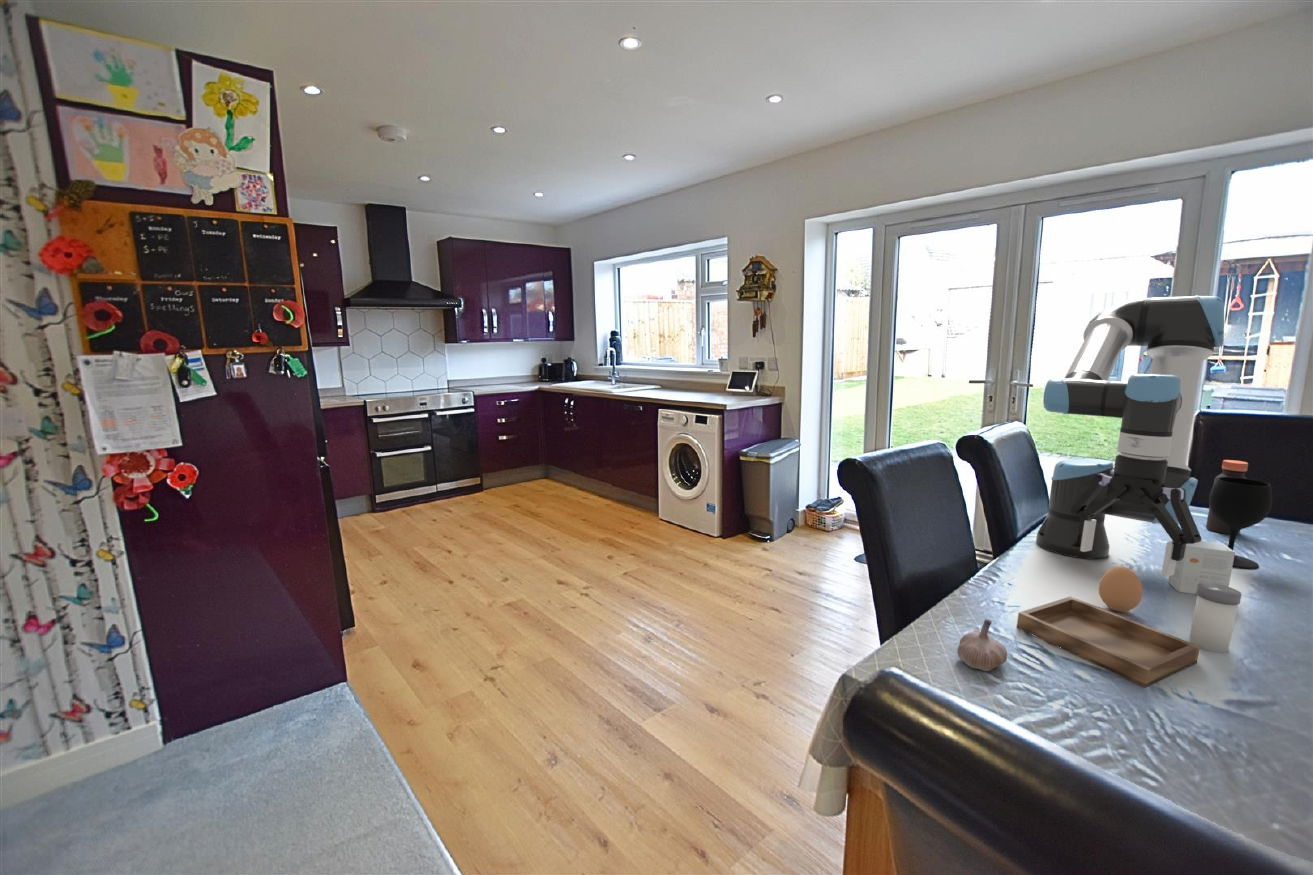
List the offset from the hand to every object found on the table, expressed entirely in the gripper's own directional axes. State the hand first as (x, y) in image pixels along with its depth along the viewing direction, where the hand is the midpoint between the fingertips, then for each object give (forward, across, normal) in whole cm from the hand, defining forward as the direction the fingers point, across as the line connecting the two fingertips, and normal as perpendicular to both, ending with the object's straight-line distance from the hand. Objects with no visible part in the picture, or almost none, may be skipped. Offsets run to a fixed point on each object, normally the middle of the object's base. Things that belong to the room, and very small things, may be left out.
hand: (1124, 562), depth 109 cm
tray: (+10, +6, -16) cm, 20 cm away
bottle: (+9, -14, +82) cm, 83 cm away
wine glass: (+10, -3, +55) cm, 56 cm away
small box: (+10, +2, +27) cm, 28 cm away
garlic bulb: (+11, +1, -41) cm, 43 cm away
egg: (+10, 0, +1) cm, 10 cm away
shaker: (+10, +14, +1) cm, 17 cm away
